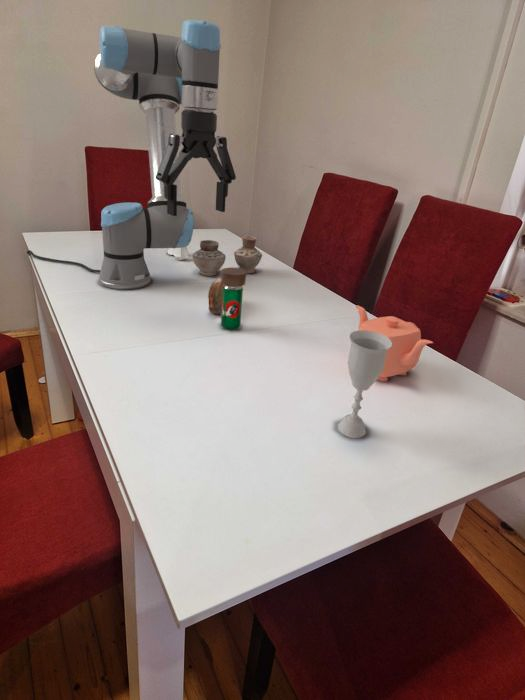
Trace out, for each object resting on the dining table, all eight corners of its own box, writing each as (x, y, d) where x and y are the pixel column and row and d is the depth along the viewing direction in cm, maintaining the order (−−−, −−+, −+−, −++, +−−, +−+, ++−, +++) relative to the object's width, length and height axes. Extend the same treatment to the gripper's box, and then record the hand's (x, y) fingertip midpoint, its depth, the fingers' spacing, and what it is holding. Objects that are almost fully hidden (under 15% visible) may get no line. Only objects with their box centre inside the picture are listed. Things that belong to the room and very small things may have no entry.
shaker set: (189, 261, 166) (189, 231, 161) (178, 262, 164) (178, 231, 159) (177, 252, 175) (177, 223, 170) (166, 253, 173) (166, 224, 168)
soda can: (244, 327, 118) (247, 283, 112) (230, 332, 114) (232, 287, 109) (231, 321, 120) (233, 278, 115) (216, 326, 117) (218, 281, 112)
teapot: (419, 392, 95) (434, 338, 90) (340, 376, 99) (350, 323, 93) (416, 361, 108) (430, 312, 103) (347, 348, 112) (356, 300, 106)
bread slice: (217, 318, 121) (218, 288, 118) (205, 316, 122) (206, 287, 118) (231, 300, 135) (233, 272, 131) (221, 298, 135) (222, 271, 131)
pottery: (265, 275, 159) (269, 241, 154) (198, 279, 149) (198, 243, 143) (252, 265, 168) (255, 233, 163) (187, 269, 158) (188, 235, 152)
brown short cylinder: (216, 281, 112) (216, 269, 111) (235, 277, 116) (236, 266, 114) (230, 288, 108) (231, 276, 107) (250, 284, 112) (251, 272, 110)
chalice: (328, 416, 85) (344, 329, 76) (364, 417, 85) (383, 331, 77) (338, 441, 78) (356, 349, 70) (375, 442, 79) (398, 350, 71)
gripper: (156, 106, 86) (158, 220, 96) (255, 115, 101) (247, 212, 111) (137, 104, 90) (140, 212, 100) (233, 113, 106) (228, 206, 116)
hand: (197, 212), depth 106 cm, fingers open, 13 cm apart
